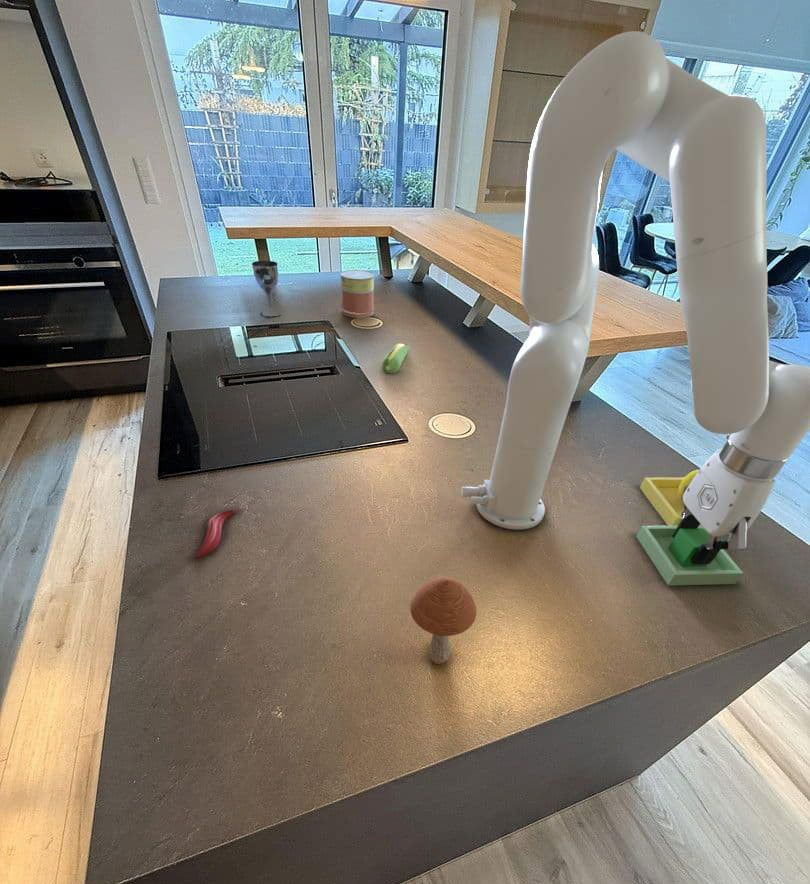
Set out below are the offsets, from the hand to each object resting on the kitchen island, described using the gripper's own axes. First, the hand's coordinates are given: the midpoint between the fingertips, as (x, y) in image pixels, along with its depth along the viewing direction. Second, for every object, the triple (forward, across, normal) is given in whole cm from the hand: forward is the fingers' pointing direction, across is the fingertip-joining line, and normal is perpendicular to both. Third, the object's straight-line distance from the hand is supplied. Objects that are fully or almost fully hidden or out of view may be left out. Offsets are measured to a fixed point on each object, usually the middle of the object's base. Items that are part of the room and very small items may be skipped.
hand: (690, 549), depth 77 cm
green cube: (+2, 0, 0) cm, 2 cm away
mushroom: (+3, +17, -45) cm, 48 cm away
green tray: (+2, 0, 0) cm, 2 cm away
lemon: (+2, -14, +8) cm, 16 cm away
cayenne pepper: (+2, -8, -79) cm, 80 cm away
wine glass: (+2, -120, -84) cm, 146 cm away
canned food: (+2, -124, -55) cm, 136 cm away
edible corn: (+2, -80, -44) cm, 91 cm away
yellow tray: (+2, -14, +8) cm, 16 cm away
